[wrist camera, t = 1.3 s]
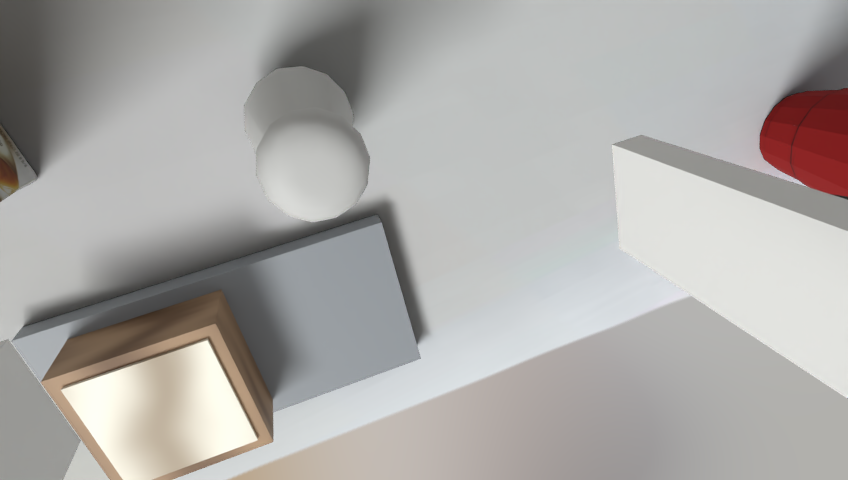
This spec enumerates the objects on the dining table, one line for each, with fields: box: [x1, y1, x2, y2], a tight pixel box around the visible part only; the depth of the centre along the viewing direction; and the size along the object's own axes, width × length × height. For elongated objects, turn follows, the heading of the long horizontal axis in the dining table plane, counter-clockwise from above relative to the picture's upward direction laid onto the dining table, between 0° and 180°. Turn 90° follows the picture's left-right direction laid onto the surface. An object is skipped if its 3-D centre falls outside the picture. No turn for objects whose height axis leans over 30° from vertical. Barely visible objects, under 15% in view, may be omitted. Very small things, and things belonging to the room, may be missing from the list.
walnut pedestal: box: [41, 289, 273, 480], centre depth 31 cm, size 9×9×4 cm
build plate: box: [12, 215, 421, 474], centre depth 34 cm, size 22×11×2 cm, turn 104°
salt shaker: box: [244, 66, 370, 222], centre depth 25 cm, size 6×6×13 cm
